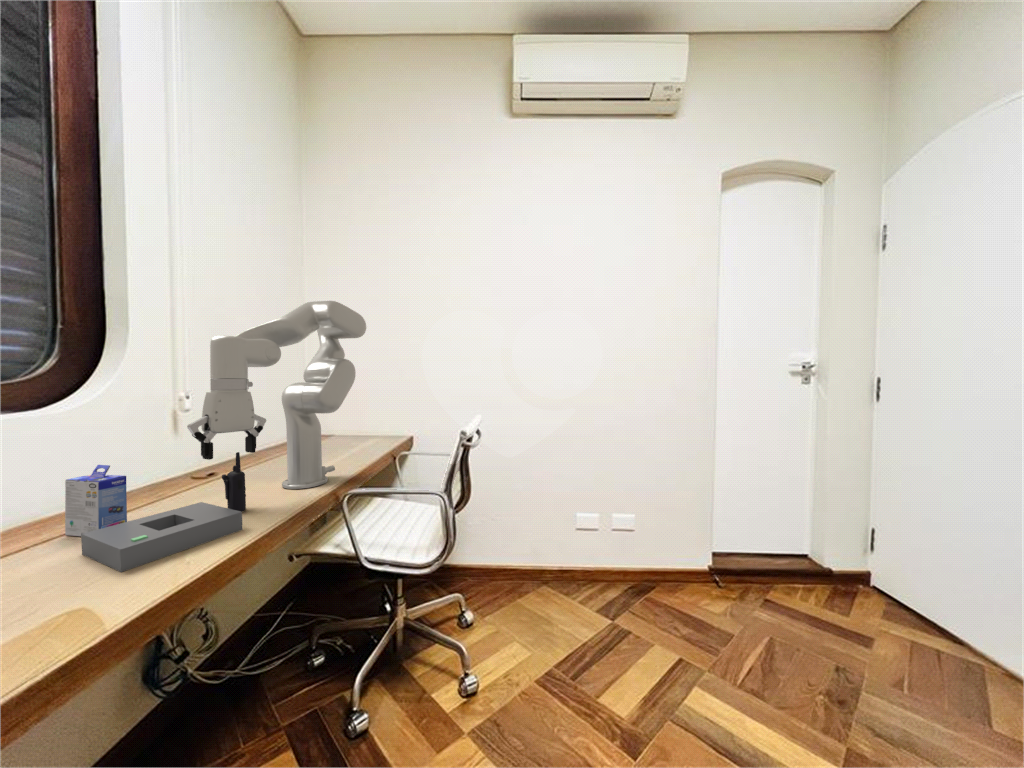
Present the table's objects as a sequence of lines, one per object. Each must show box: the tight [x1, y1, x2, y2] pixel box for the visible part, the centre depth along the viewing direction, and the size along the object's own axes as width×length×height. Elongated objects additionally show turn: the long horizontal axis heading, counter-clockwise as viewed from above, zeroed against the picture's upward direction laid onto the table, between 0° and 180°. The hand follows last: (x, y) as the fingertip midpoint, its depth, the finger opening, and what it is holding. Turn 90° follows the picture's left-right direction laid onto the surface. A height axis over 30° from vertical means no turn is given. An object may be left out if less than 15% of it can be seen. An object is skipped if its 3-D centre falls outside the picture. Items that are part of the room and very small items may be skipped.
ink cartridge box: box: [64, 464, 128, 537], centre depth 85 cm, size 10×6×14 cm, turn 78°
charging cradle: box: [80, 501, 244, 573], centre depth 80 cm, size 20×16×4 cm
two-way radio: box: [221, 451, 247, 513], centre depth 97 cm, size 6×4×15 cm
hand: (230, 455), depth 96 cm, fingers open, 9 cm apart
